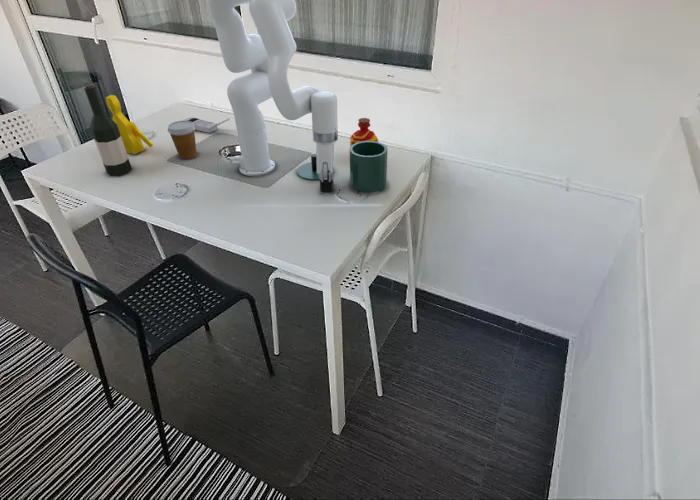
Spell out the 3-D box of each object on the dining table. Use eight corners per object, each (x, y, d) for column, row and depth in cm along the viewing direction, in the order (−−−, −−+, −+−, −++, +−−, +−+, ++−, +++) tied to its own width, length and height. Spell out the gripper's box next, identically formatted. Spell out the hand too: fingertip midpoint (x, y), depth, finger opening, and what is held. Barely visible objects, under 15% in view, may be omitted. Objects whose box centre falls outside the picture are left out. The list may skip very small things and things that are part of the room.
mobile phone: (221, 122, 179) (173, 113, 188) (223, 137, 183) (176, 126, 192) (230, 117, 184) (183, 108, 193) (232, 131, 187) (186, 122, 196)
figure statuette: (159, 151, 173) (142, 93, 160) (144, 159, 168) (125, 100, 154) (124, 144, 179) (105, 87, 166) (109, 152, 173) (88, 94, 160)
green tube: (350, 194, 145) (349, 157, 137) (350, 177, 155) (349, 141, 147) (386, 194, 145) (388, 156, 137) (384, 176, 154) (386, 140, 147)
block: (320, 191, 146) (319, 180, 143) (320, 185, 149) (320, 173, 147) (333, 191, 146) (332, 180, 143) (333, 185, 149) (333, 173, 147)
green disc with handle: (295, 182, 152) (293, 164, 148) (299, 164, 162) (297, 147, 158) (333, 181, 152) (332, 163, 148) (334, 164, 162) (334, 147, 158)
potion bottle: (375, 167, 160) (376, 126, 151) (347, 165, 162) (346, 124, 153) (380, 154, 168) (381, 115, 159) (352, 152, 170) (352, 113, 161)
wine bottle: (137, 168, 162) (109, 82, 144) (118, 178, 156) (87, 90, 138) (120, 164, 165) (90, 80, 147) (101, 173, 159) (68, 87, 141)
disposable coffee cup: (169, 159, 168) (160, 128, 161) (186, 148, 175) (178, 118, 168) (190, 163, 165) (182, 131, 158) (206, 152, 172) (199, 121, 165)
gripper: (314, 123, 143) (317, 175, 154) (310, 146, 130) (313, 201, 141) (338, 124, 143) (339, 175, 154) (336, 147, 130) (337, 201, 141)
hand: (326, 187), depth 147 cm, fingers closed on block, 4 cm apart
